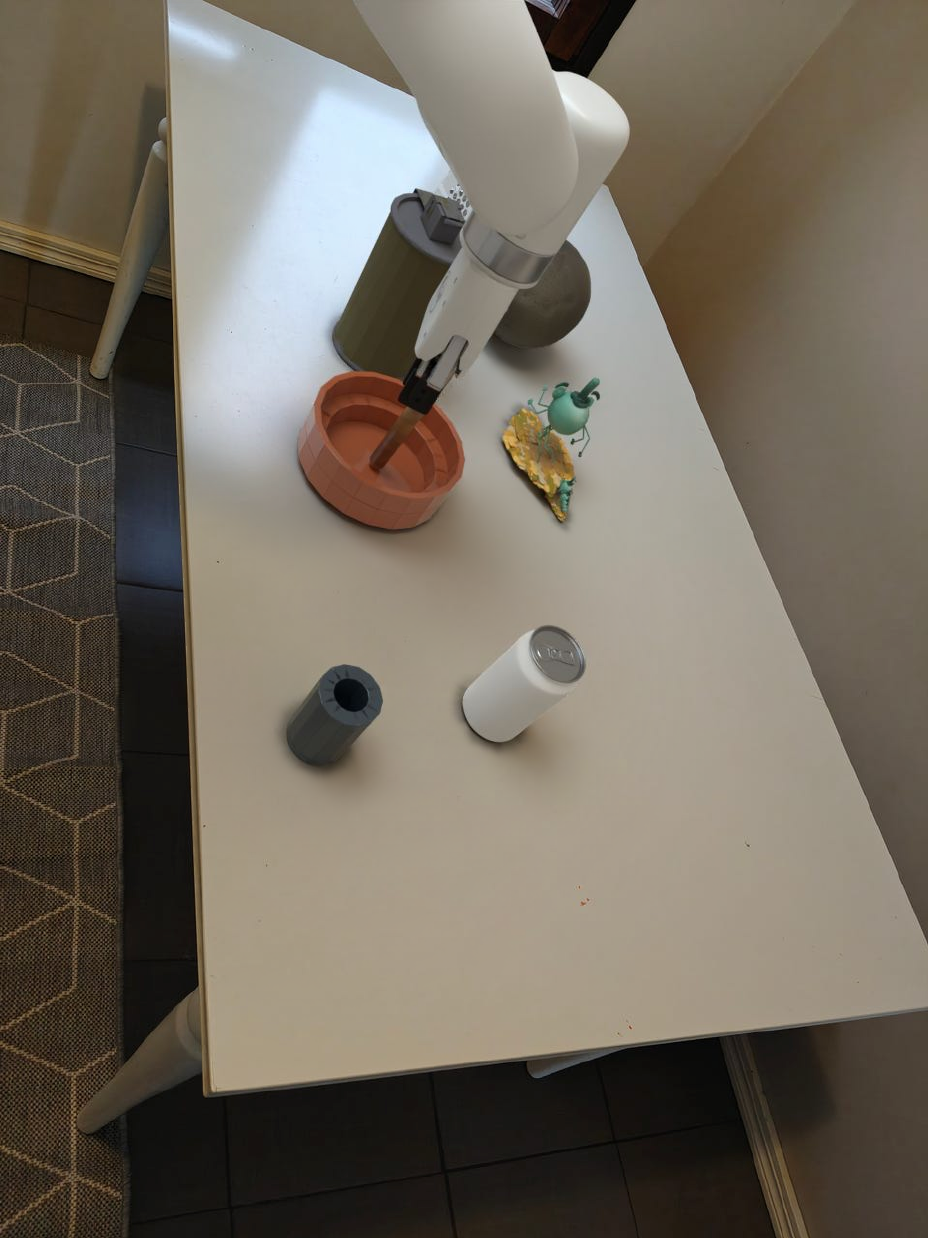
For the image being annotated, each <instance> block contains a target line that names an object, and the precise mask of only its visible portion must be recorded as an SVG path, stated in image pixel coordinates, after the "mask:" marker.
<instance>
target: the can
mask: <svg viewBox="0 0 928 1238" xmlns="http://www.w3.org/2000/svg"><path fill="white" fill-rule="evenodd" d="M585 655H586V654H585V653H584V650H583V648H582V646H581V644H580V643H579V641H578V640H577V638H576V637H574V635H572V634H571V633H570V632H569V631H568V630H567V629H564V628H562V627H560V626H557V625H553V624H544V625H541V626H539V627H537V628H536V629H532V630H529V631H527V632H525V633H524V634H523V635H522V636H521V637H519V638H518V639H517V640H516V641H515V642H514V643H512V644H511V646H509V647H508V648H507V649H506V650H505V651H504V652H503V653H502V654H501V655H500V656H499V657H498V658H497V659H496V660H495V661H493V663H492V664H490V666H488V667H487V668H486V669H485V670H484V671H483V672H482V673H481V674H480V675H479V676H478V677H477V678H476V679H475V680H473V682H472V683H471V684H470V685H469V686H468V687H467V688H466V690H465V691H464V694H463V697H462V709H463V713H464V717H465V718H466V721H467V723H468V725H469V726H470V727H471V729H472V730H473V731H474V732H475V733H476V734H477V735H479V736H481V737H482V738H484V739H486V740H488V741H491V742H494V743H506V742H508V741H511V740H513V739H514V738H515V737H517V736H518V735H520V733H522V732H523V731H525V730H526V729H527V728H528V727H530V726H531V725H532V724H533V723H535V722H536V721H537V720H538V719H540V718H541V717H542V716H544V715H545V714H546V713H547V712H548V711H550V710H551V709H553V707H556V705H557V704H559V703H560V702H561V701H563V700H564V699H566V697H567V696H568V695H570V694H571V693H572V692H573V691H574V690H575V689H576V688H577V686H578V684H579V682H580V679H582V677H583V676H584V675H585V672H586V667H587V660H586V656H585Z"/></svg>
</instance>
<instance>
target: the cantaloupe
mask: <svg viewBox="0 0 928 1238" xmlns="http://www.w3.org/2000/svg"><path fill="white" fill-rule="evenodd" d="M591 278H592V277H591V272H590V270H589V266H588V264H587V262H586V260H585V259H584V258H583V256H582V254H581V252H580V251H579V250H578V249H577V248H576V247H575V246H574V245H573V244H572V243H571V242H570V241H569V240H568V239H566V240H565V242H564V243H563V245H562V246H561V248H560V249H559V251H558V252H557V254H556V255H555V257H554V258H553V260H552V261H551V263H550V264H549V266H548V267H547V269H546V271H545V272H544V274H543V275H542V277H541V278H540V280H539V281H538V283H537V284H536V285H535V286H534V287H532V288H528V289H519V290H518V292H517V293H516V295H515V297H514V298H513V300H512V302H511V304H510V305H509V307H508V310H507V311H506V312H505V314H504V315H503V317H502V319H501V320H500V322H499V324H498V325H497V327H496V329H495V330H494V332H493V334H495V335H496V336H497V338H499V339H500V340H501V341H502V342H504V343H506V344H509V345H511V346H513V347H518V348H523V349H541V348H544V347H549V346H552V345H554V344H556V343H558V342H559V341H561V340H563V339H564V338H565V337H566V336H568V335H569V334H570V333H571V332H572V331H573V330H574V329H575V328H576V327H577V326H578V325H579V324H580V322H581V321H582V320H583V318H584V316H585V315H586V312H587V310H588V308H589V306H590V303H591V299H592V279H591Z"/></svg>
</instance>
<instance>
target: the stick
mask: <svg viewBox="0 0 928 1238" xmlns="http://www.w3.org/2000/svg"><path fill="white" fill-rule="evenodd" d="M455 371H456V369H455V370H454V372H453V373H452V375H451V376H450V378H449V380H448V381H447V383H446V384H445V387H444V389H445V388H446V386H448V384H449V383H450V381H451V380H452V379H453V378H454V376H455ZM422 417H423V414H421V413H419V412H417V411H415V410H413V409H411V408H409V407H406V408H405V410H404V411H403V412H402V414H401V415H400V416H399V418H398V419H397V421H396V422H395V423H394V425H393V426H392V427H391V429H390V430H389V431H388V433H387V434H386V436H385V437H384V438H383V440H382V441H381V442H380V444H379V445H378V446H377V448H376V449H375V451H374V452H373V453H372V455H371V456H370V459H369V461H370V465H371V466H372V467H373V468H375V469H382V468H383V467H384V466H385V465H386V464H387V463H388V461H389V460H390V459H391V457H392V456H393V455H394V453H395V452H396V451H397V449H398V448H399V447H400V445H401V444H402V443H403V442H404V440H405V439H406V438H407V436H408V435H409V434H410V432H411V431H412V430H413V428H414V427H415V426H416V424H417V423H418V422H419V421H420V419H421V418H422Z"/></svg>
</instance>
